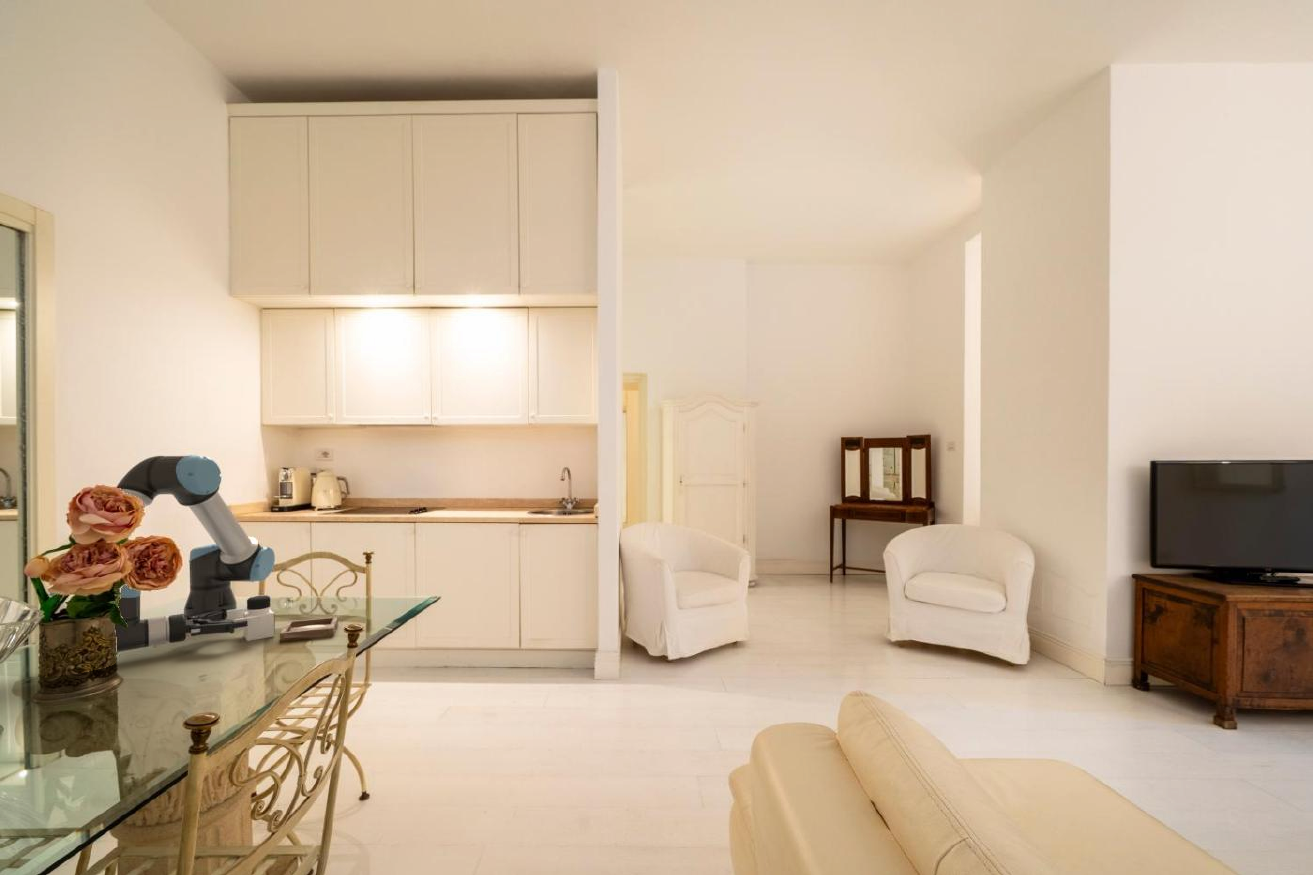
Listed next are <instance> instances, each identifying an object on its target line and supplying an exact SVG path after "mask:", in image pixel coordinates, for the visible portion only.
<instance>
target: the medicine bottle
mask: <svg viewBox="0 0 1313 875" xmlns="http://www.w3.org/2000/svg"><path fill="white" fill-rule="evenodd" d="M246 608H247V612H245V613H243V618H248V617H254V616H260V626H254V627H248V628H242V629H243V635H242V636H243V637H244V639H245V640H246V641H247V642H250V641H257V640H262V639H268V638H274V637H275V635H276V634H275V633H276V630H275V627H276V625H275V624H276V622H275V618H276V617H275V616H276V614H275V612H273V610H271V596H269V595H268V594H267V595H266V594H265V595H263V594H260V595H254V596H250V597H249V598H247V599H246Z"/></svg>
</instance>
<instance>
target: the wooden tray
mask: <svg viewBox="0 0 1313 875" xmlns="http://www.w3.org/2000/svg"><path fill="white" fill-rule="evenodd" d="M338 626H339V616H329V617H319V618H308V619H299V620H289V621H287V622H286V623H285V625H284V627H283V628H282V629H281V631H280V633H279V643H284V642H285V643H286V642H294V641H302V640H303V641H304V640H314V639H324V638H331V637H332V638H333V637H334V636H335V633H336V631H337V628H338Z"/></svg>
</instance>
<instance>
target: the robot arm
mask: <svg viewBox="0 0 1313 875" xmlns="http://www.w3.org/2000/svg"><path fill="white" fill-rule="evenodd" d="M221 474H222V472H221V469H220V466H219V465H218V464H217V463H216V462H215V461H214V460H213V459H212V458H210V457H208V456H205V455H198V454H197V455H196V454H189V455H154V456H151V457H147V458H146V459H143V460H142V461H140V462H139V463H137V464H135V465H134V466H133V467H132V468H130V469H129V471H128V472H126V473H125V475H124V476H123V477H122V478H121V479H120V481H119V483H118V484H117V486H116V487H117V488H121V490H122V491H124V492H125V493H128V494H131V495H134V496H136V497H139V498H140V499H142V501H143V505H144V509H145V508H146V507H147V506H150V505H152V504H153V501H154V499H155V498H156V497H157V496H160V495H172V496H173V498H175V500H176V501H177V503H178V504H179V505H181V506H183V507H189V509H190V510H191V511H192V513H193V514H194V516H195V517H196V518H197V519H198V521H199V522H200V524H201V526H203V528H204V529H205V531H206V532H207V533H208V535H209V536H210V537H211V539H212V541H213V542H214V544H207V545H202V546H197V547H194V548H193V549H191V550H190V553H189V560H188V562H189V593H188V596H187V599H186V602H185V604H184V607H183V613H178V614H172V615H169V616H168V617H166V615H165V616H163V615H162V616H158V617H157V616H155V617H151V618H146V619H145V618H144V619H141V593H142V592H141V590H140V591H136V590H134V589H130V588H129V587H127V586H126V585H124V586H123V587H122V588H121V599H120V600H119V603H118V606H119V609H120V612H121V616H122V617H123V619H124V620H125V622H126V623H127V625H128V627H123V626H121V625H119V624H115V630H116V637H117V653H121V652H126V651H132V650H138V649H143V648H148V647H149V648H150V647H152V648H154V649H155V648H157V647H158V646H160V645H166V644H167V642H168V643H170V644H173V643H180V642H184V641H185V640H186V638H187V634H190V636H192V637H195V636H200V635H211V634H213V635H214V634H226V633H227V634H228V633H230V634H234V633H235V630H241V629H243V628H248V627H254V626H260V616H254V617H248V618H243V613H245V612H247V607H243V608H238V606H237V604H238V603H237V599H236V597H235V594H234V592H233V589H232V586H231V582H238V583H239V582H242V583H243V582H248V583H254V582H262V581H265V580H266V579H267V578H269V576H270V575H271V574H272V572H273V569H274V566H275V552H274V550H273V548H272V547H269V546H261V545H260V543H259V542H258V540H257V539H256V538H255V537H253V536H248V534H247V533H246V532H245V530H244V529H243V527H242V526H241V524H240V522H239V521H238V519H237V518H236V517H235V515H234V514H233V512H232V510H231V509H230V507H229V506H228V505H227V503H226V502H225V500H224V499H223V497H222V496H221V495H220V493H219V491H220V485H221V483H222V475H221ZM220 475H221V476H220ZM129 538H130V536H129V537H128V539H129ZM49 595H50V596H54V595H56V594H54V593H51V591H50V592H49V594H48V596H49ZM224 620H225V621H224Z"/></svg>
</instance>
